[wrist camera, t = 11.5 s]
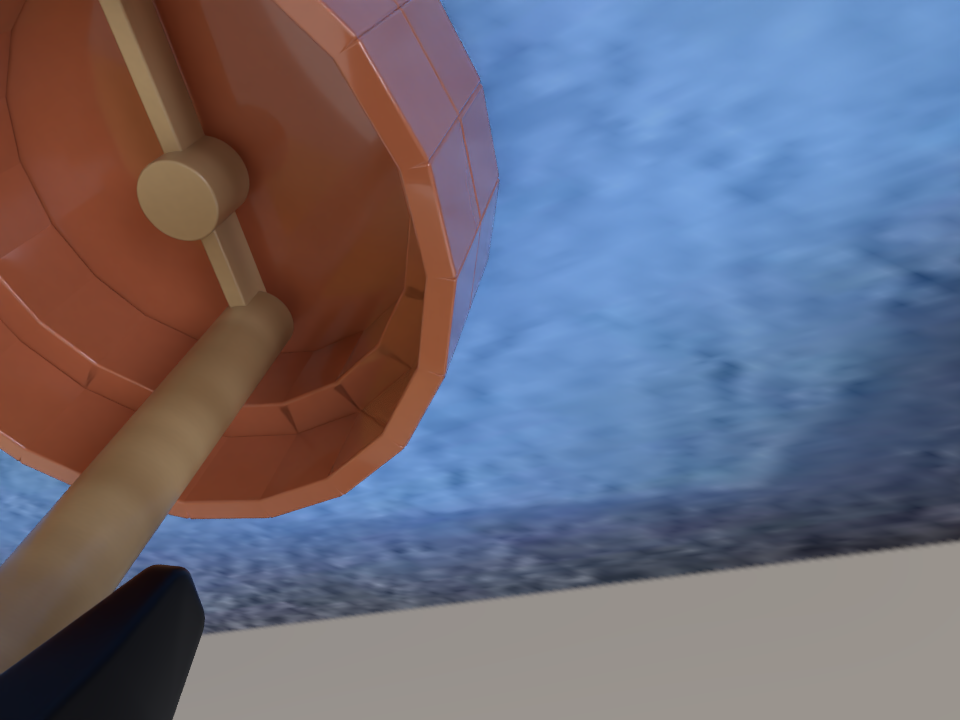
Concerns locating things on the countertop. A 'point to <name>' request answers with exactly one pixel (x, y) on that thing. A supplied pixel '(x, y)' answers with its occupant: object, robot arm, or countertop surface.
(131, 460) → the stirrer
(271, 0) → the bowl
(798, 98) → the countertop surface
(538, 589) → the countertop surface
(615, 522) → the countertop surface
